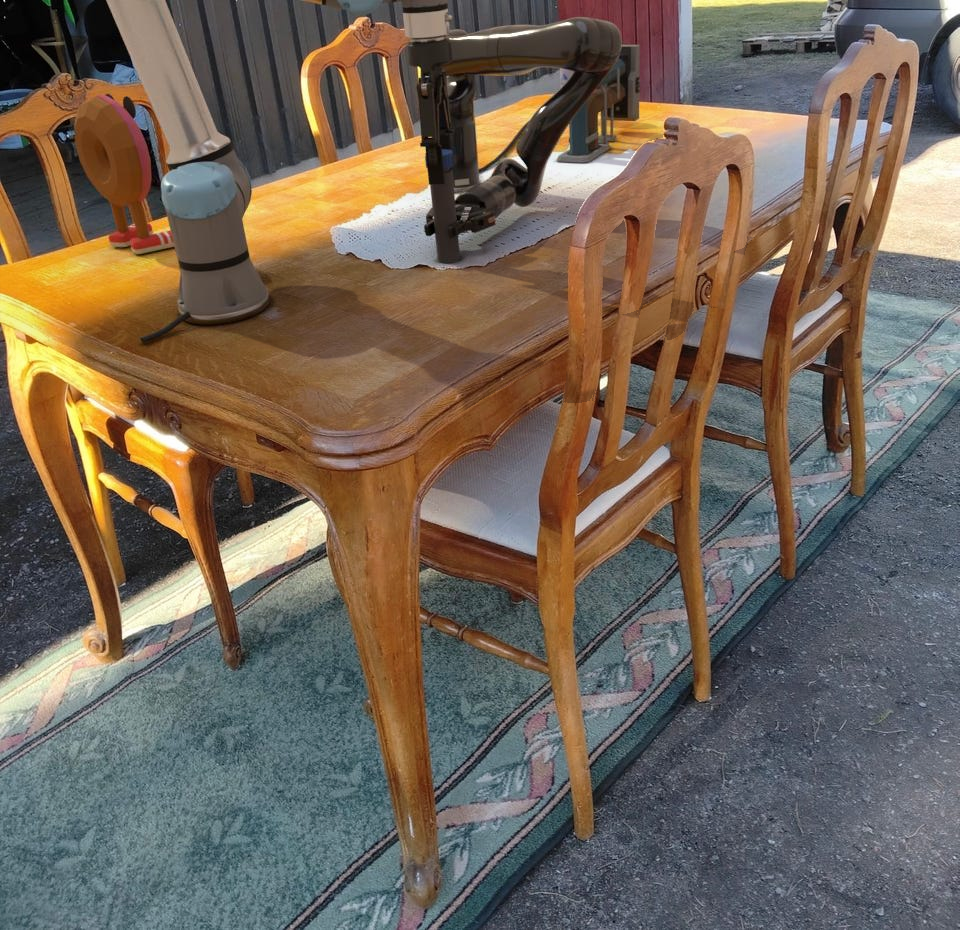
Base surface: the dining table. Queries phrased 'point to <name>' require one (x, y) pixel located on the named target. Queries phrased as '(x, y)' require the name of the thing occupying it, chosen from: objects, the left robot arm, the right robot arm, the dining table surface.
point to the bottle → (445, 218)
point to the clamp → (606, 108)
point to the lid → (446, 158)
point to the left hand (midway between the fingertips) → (441, 177)
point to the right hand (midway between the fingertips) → (438, 231)
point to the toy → (118, 168)
